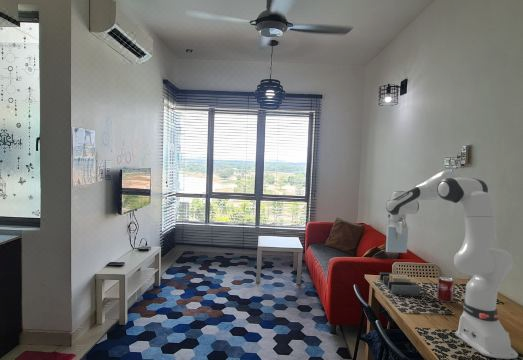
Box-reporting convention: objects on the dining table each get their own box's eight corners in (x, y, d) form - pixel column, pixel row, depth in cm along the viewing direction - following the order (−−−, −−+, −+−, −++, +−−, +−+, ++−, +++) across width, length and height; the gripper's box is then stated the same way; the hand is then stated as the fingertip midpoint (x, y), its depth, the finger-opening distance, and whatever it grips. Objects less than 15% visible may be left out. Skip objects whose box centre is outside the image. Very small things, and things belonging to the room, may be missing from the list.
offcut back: (407, 285, 185) (407, 276, 184) (390, 285, 185) (390, 275, 185) (405, 284, 187) (405, 274, 187) (388, 283, 188) (389, 274, 187)
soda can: (448, 297, 173) (449, 276, 172) (454, 303, 166) (456, 281, 165) (434, 296, 174) (436, 275, 173) (440, 302, 166) (442, 280, 166)
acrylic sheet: (406, 252, 189) (408, 227, 188) (387, 252, 189) (388, 226, 188) (404, 251, 191) (406, 226, 190) (385, 250, 192) (387, 225, 191)
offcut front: (409, 288, 181) (410, 278, 181) (392, 287, 181) (393, 277, 181) (407, 286, 184) (408, 277, 183) (391, 286, 184) (391, 276, 184)
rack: (420, 295, 175) (420, 286, 175) (391, 293, 175) (392, 285, 175) (403, 280, 197) (403, 272, 196) (378, 279, 197) (378, 271, 197)
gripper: (411, 220, 178) (409, 243, 179) (396, 214, 199) (395, 235, 200) (400, 220, 179) (398, 243, 179) (386, 214, 199) (385, 235, 200)
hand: (396, 239), depth 190 cm, fingers closed on acrylic sheet, 2 cm apart
